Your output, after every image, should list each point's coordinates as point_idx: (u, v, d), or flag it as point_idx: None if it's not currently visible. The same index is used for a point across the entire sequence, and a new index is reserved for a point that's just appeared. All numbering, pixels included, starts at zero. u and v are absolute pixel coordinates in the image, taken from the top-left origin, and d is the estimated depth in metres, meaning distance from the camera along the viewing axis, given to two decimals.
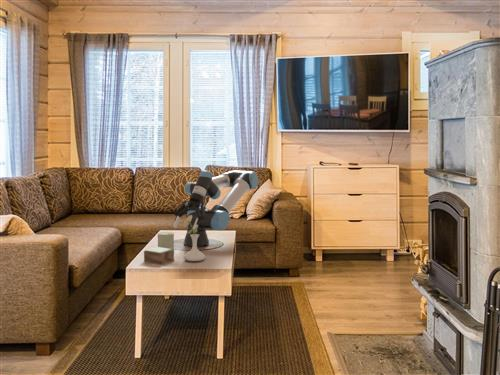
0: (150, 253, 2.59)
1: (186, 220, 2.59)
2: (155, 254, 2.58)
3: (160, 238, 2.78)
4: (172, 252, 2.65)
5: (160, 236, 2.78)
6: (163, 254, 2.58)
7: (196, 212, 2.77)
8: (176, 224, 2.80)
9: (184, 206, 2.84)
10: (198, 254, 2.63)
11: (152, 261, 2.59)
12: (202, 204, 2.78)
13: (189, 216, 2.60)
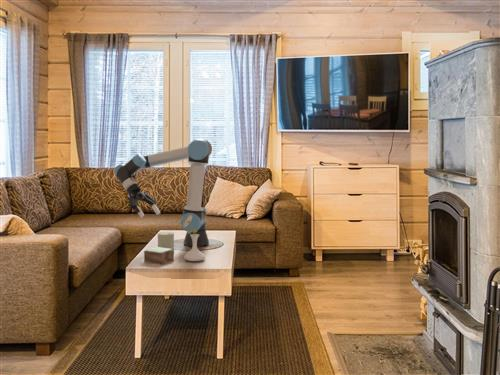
0: (150, 253, 2.59)
1: (186, 220, 2.59)
2: (156, 254, 2.58)
3: (160, 238, 2.78)
4: (172, 252, 2.65)
5: (160, 236, 2.78)
6: (164, 254, 2.58)
7: None
8: (156, 211, 2.92)
9: (145, 196, 2.95)
10: (198, 254, 2.63)
11: (152, 261, 2.59)
12: (128, 197, 2.85)
13: (189, 216, 2.60)
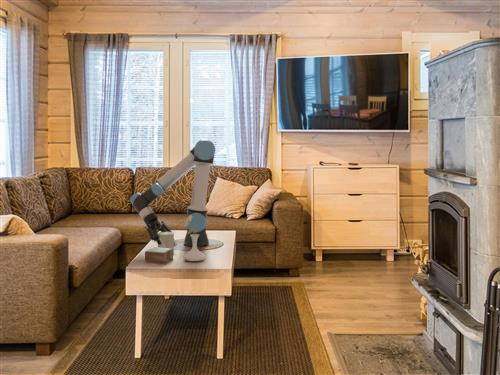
0: (152, 253, 2.59)
1: (186, 220, 2.59)
2: (158, 254, 2.58)
3: (160, 238, 2.78)
4: (172, 251, 2.66)
5: (160, 236, 2.78)
6: (166, 254, 2.59)
7: None
8: None
9: (162, 226, 2.89)
10: (198, 254, 2.63)
11: (154, 261, 2.59)
12: (146, 228, 2.80)
13: (189, 216, 2.60)
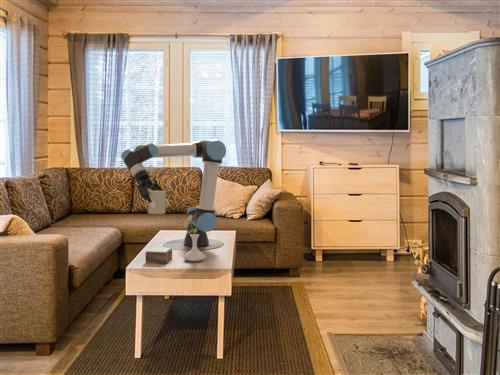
0: (153, 254, 2.58)
1: (186, 220, 2.59)
2: (160, 254, 2.58)
3: None
4: (171, 251, 2.67)
5: (150, 194, 2.61)
6: (167, 253, 2.60)
7: None
8: (165, 202, 2.68)
9: (154, 185, 2.73)
10: (198, 254, 2.63)
11: (156, 261, 2.58)
12: (136, 185, 2.64)
13: (189, 216, 2.60)
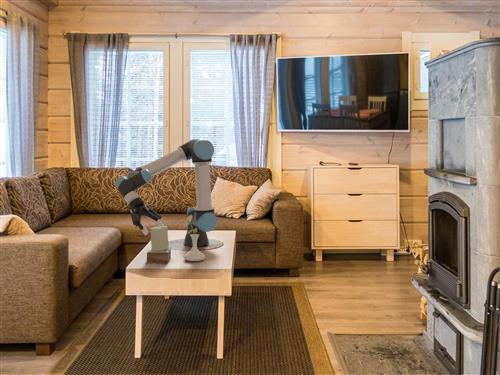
0: (155, 254, 2.58)
1: (186, 220, 2.59)
2: (161, 254, 2.58)
3: (154, 233, 2.59)
4: (170, 251, 2.68)
5: (154, 231, 2.59)
6: (168, 253, 2.61)
7: None
8: None
9: (149, 211, 2.72)
10: (198, 254, 2.63)
11: (157, 261, 2.58)
12: None
13: (189, 216, 2.60)
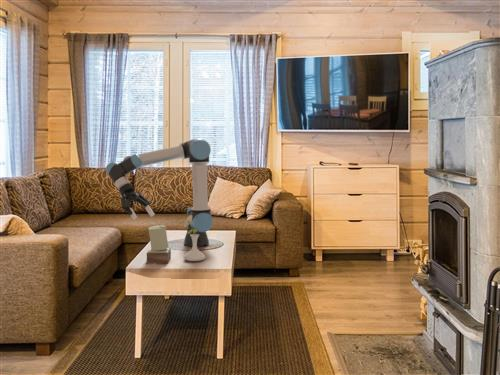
0: (155, 254, 2.58)
1: (186, 220, 2.59)
2: (161, 254, 2.58)
3: (152, 233, 2.59)
4: (170, 251, 2.68)
5: (152, 231, 2.58)
6: (168, 253, 2.60)
7: None
8: (150, 213, 2.75)
9: (139, 197, 2.78)
10: (198, 254, 2.63)
11: (157, 262, 2.58)
12: (120, 197, 2.68)
13: (189, 216, 2.60)
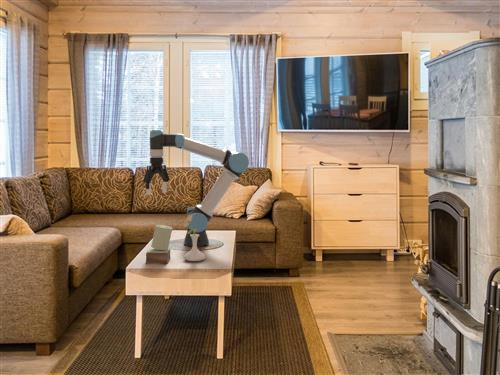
0: (154, 254, 2.58)
1: (186, 220, 2.59)
2: (161, 254, 2.58)
3: (157, 231, 2.59)
4: None
5: (158, 228, 2.59)
6: (168, 253, 2.60)
7: None
8: (163, 189, 2.94)
9: (163, 170, 2.93)
10: (198, 254, 2.63)
11: (157, 262, 2.58)
12: (147, 167, 2.83)
13: (189, 216, 2.60)
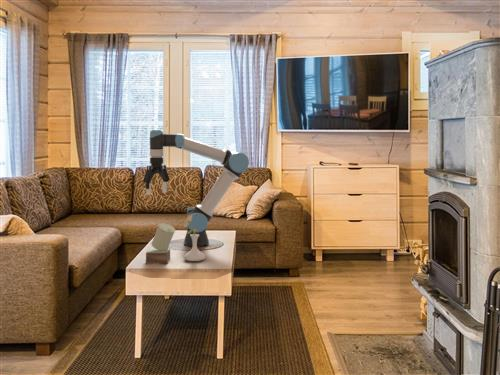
0: (154, 254, 2.58)
1: (186, 220, 2.59)
2: (161, 254, 2.58)
3: (158, 231, 2.57)
4: (169, 251, 2.67)
5: (159, 229, 2.57)
6: (168, 253, 2.60)
7: None
8: (163, 189, 2.94)
9: (163, 170, 2.93)
10: (198, 254, 2.63)
11: (157, 262, 2.58)
12: (147, 167, 2.83)
13: (189, 216, 2.60)
